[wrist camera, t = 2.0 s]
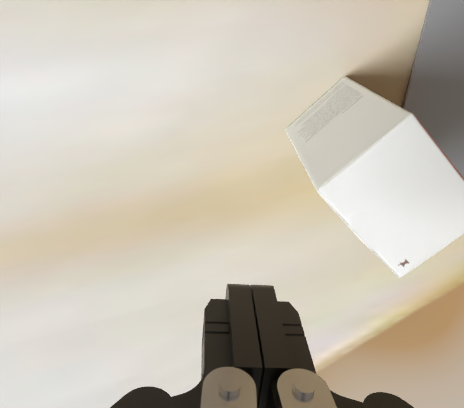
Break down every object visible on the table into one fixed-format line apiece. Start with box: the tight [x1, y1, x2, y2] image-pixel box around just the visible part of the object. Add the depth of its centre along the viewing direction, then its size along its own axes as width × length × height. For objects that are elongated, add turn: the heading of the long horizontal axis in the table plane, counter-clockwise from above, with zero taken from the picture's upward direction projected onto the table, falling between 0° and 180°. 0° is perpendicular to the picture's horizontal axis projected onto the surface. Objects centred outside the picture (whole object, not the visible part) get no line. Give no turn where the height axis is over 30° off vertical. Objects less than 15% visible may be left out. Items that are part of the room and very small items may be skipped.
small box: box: [285, 77, 464, 278], centre depth 29 cm, size 8×6×13 cm
